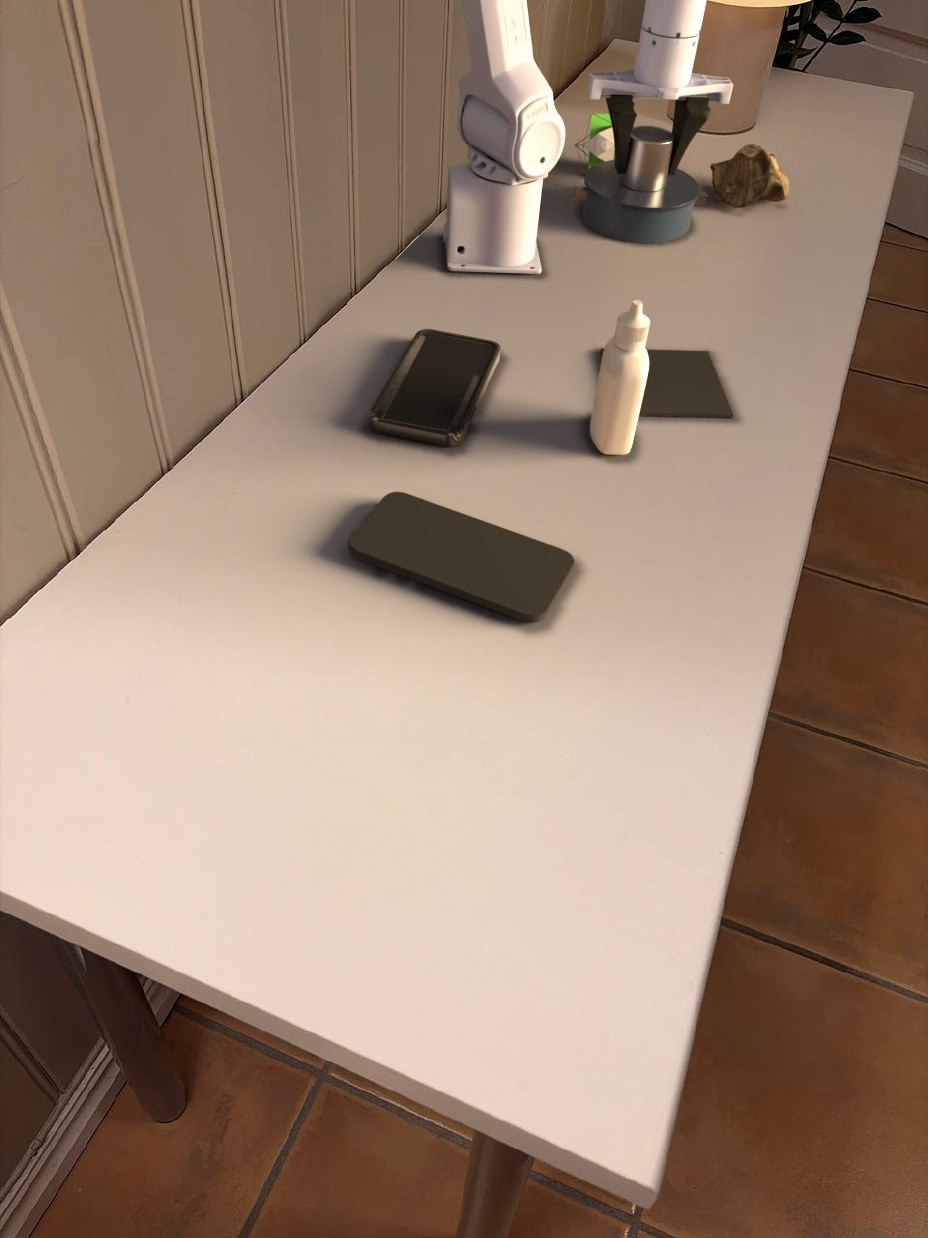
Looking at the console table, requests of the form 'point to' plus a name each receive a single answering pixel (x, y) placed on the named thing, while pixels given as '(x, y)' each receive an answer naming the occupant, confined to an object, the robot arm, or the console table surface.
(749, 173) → the fossilized seashell
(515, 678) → the console table surface
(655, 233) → the grey cooking pot
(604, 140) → the geometric puzzle
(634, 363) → the eye dropper bottle
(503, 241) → the robot arm
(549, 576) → the phone
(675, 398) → the mat
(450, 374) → the phone
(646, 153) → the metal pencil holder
